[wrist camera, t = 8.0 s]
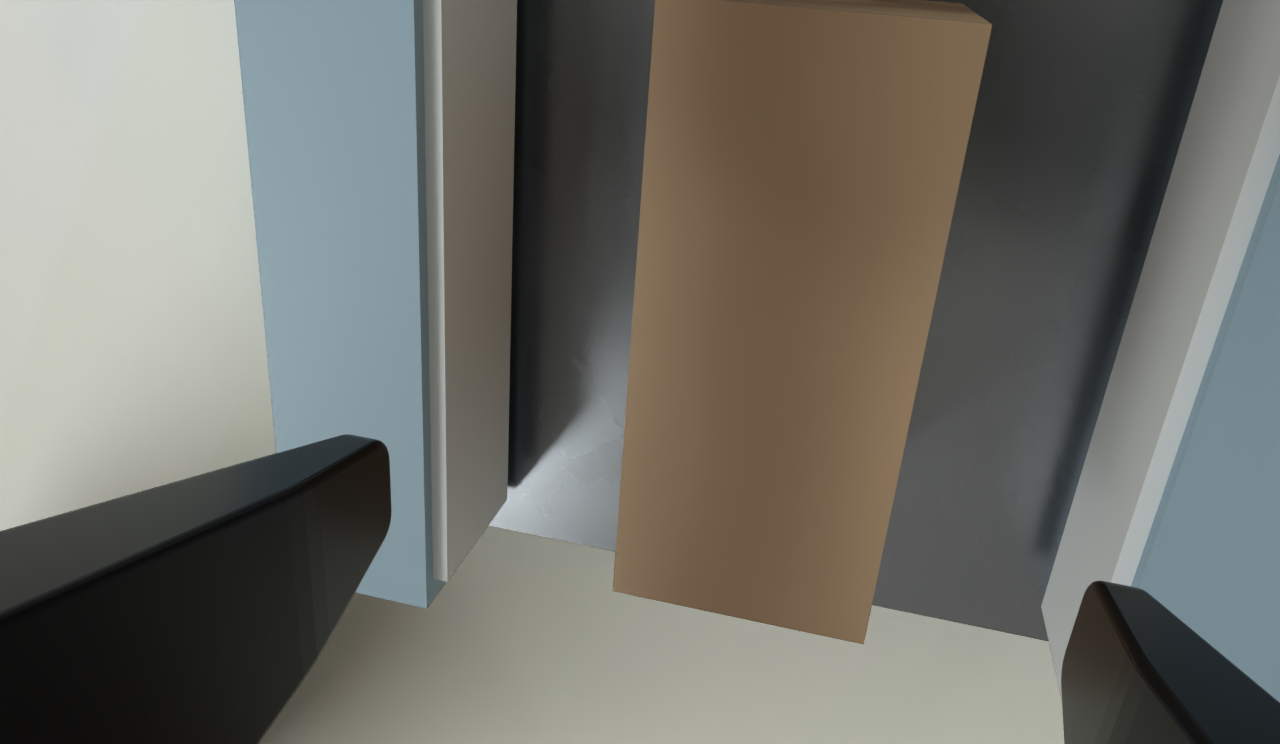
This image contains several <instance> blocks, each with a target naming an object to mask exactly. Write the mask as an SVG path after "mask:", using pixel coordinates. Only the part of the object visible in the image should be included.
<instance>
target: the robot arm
mask: <svg viewBox="0 0 1280 744" xmlns="http://www.w3.org/2000/svg"><path fill="white" fill-rule="evenodd" d="M391 513H392V508H391V483H390V458H389V452H388V449H387V447H386V446H385V444H384V443H383V442H382V441H380V440H376V439H371V438H366V437H361V436H356V435H351V434H344V435H339V436H336V437H332V438H329V439H325V440H322V441H318V442H315V443H311V444H308V445H304V446H300V447H297V448H293V449H290V450H286V451H283V452H279V453H276V454H272V455H269V456H265V457H261V458H258V459H254V460H251V461H247V462H244V463H240V464H237V465H233V466H230V467H226V468H223V469H219V470H215V471H212V472H208V473H205V474H201V475H198V476H194V477H191V478H187V479H184V480H180V481H177V482H173V483H169V484H166V485H162V486H159V487H155V488H152V489H148V490H145V491H141V492H138V493H134V494H131V495H127V496H123V497H120V498H116V499H113V500H109V501H106V502H102V503H99V504H95V505H92V506H88V507H85V508H81V509H77V510H74V511H70V512H67V513H63V514H60V515H56V516H53V517H49V518H46V519H42V520H39V521H35V522H31V523H28V524H24V525H21V526H17V527H14V528H10V529H7V530H3V531H0V744H258V743H259V742H260V741H261V739H262V738H263V736H264V735H265V734H266V732H267V731H268V729H269V728H270V726H271V725H272V724H273V722H274V721H275V719H276V718H277V717H278V715H279V714H280V712H281V711H282V710H283V708H284V707H285V705H286V704H287V702H288V701H289V700H290V698H291V697H292V695H293V694H294V693H295V691H296V690H297V688H298V687H299V686H300V684H301V683H302V681H303V680H304V678H305V677H306V675H307V674H308V672H309V671H310V670H311V668H312V667H313V665H314V664H315V662H316V661H317V659H318V657H319V656H320V654H321V652H322V651H323V649H324V647H325V646H326V644H327V642H328V641H329V639H330V637H331V635H332V634H333V632H334V630H335V628H336V626H337V625H338V623H339V621H340V619H341V617H342V616H343V614H344V612H345V610H346V608H347V606H348V605H349V603H350V601H351V599H352V597H353V596H354V594H355V592H356V590H357V588H358V587H359V585H360V583H361V581H362V579H363V578H364V576H365V574H366V572H367V570H368V569H369V567H370V565H371V563H372V561H373V559H374V558H375V556H376V554H377V552H378V550H379V549H380V547H381V545H382V543H383V541H384V540H385V537H386V535H387V533H388V530H389V527H390V522H391ZM1061 692H1062V709H1063V725H1064V742H1065V744H1280V702H1279V701H1277V700H1276V699H1275V698H1274V697H1273V696H1271V695H1270V694H1269V693H1268V692H1267V691H1265V690H1264V689H1263V688H1262V687H1261V686H1259V685H1258V684H1257V683H1256V682H1255V681H1253V680H1252V679H1251V678H1250V677H1249V676H1247V675H1246V674H1245V673H1244V672H1243V671H1241V670H1240V669H1239V668H1238V667H1237V666H1235V665H1234V664H1233V663H1232V662H1231V661H1229V660H1228V659H1227V658H1226V657H1225V656H1223V655H1222V654H1221V653H1220V652H1219V651H1217V650H1216V649H1215V648H1214V647H1213V646H1211V645H1210V644H1209V643H1208V642H1207V641H1205V640H1204V639H1203V638H1202V637H1201V636H1199V635H1198V634H1197V633H1196V632H1195V631H1193V630H1192V629H1191V628H1190V627H1188V626H1187V625H1186V624H1185V623H1184V622H1182V621H1181V620H1180V619H1179V618H1178V617H1176V616H1175V615H1174V614H1173V613H1172V612H1170V611H1169V610H1168V609H1167V608H1166V607H1164V606H1163V605H1162V604H1161V603H1160V602H1158V601H1157V600H1156V599H1155V598H1154V597H1152V596H1151V595H1150V594H1149V593H1148V592H1146V591H1145V590H1143V589H1140V588H1137V587H1132V586H1127V585H1122V584H1116V583H1111V582H1106V581H1094V582H1092V583H1091V584H1090V585H1089V586H1088V587H1087V589H1086V591H1085V593H1084V595H1083V598H1082V601H1081V604H1080V608H1079V611H1078V614H1077V617H1076V620H1075V623H1074V626H1073V629H1072V632H1071V636H1070V639H1069V642H1068V645H1067V648H1066V651H1065V654H1064V658H1063V664H1062V671H1061Z"/></svg>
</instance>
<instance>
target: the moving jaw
mask: <svg viewBox="0 0 1280 744" xmlns="http://www.w3.org/2000/svg"><path fill="white" fill-rule="evenodd" d="M234 3H235V13H236V24H237V35H238V46H239V56H240V67H241V78H242V89H243V99H244V110H245V121H246V132H247V142H248V153H249V164H250V175H251V185H252V196H253V207H254V218H255V229H256V239H257V250H258V261H259V272H260V282H261V293H262V304H263V315H264V325H265V336H266V347H267V358H268V368H269V379H270V390H271V401H272V411H273V422H274V433H275V444H276V453H279V452H283V451H286V450H290V449H293V448H297V447H300V446H304V445H308V444H311V443H315V442H318V441H322V440H325V439H329V438H332V437H336V436H339V435H344V434H351V435H356V436H361V437H366V438H371V439H376V440H380V441H382V442H383V443H384V444H385V446H386V447H387V449H388V452H389V458H390V483H391V508H392V513H391V522H390V527H389V530H388V533H387V535H386V537H385V540H384V541H383V543H382V545H381V547H380V549H379V550H378V552H377V554H376V556H375V558H374V559H373V561H372V563H371V565H370V567H369V569H368V570H367V572H366V574H365V576H364V578H363V579H362V581H361V583H360V585H359V587H358V588H357V590H356V592H355V593H360V594H364V595H368V596H373V597H377V598H382V599H386V600H390V601H395V602H399V603H404V604H408V605H412V606H417V607H421V608H426V609H427V608H428V606H429V605H430V604H431V602H432V601H433V600H434V598H435V597H436V595H437V594H438V593H439V591H440V590H441V589H442V587H443V586H444V584H445V583H446V582H448V580H449V579H450V578H451V576H452V575H453V573H454V572H455V571H456V569H457V568H458V567H459V565H460V564H461V562H462V561H463V560H464V558H465V557H466V556H467V554H468V553H469V551H470V550H471V549H472V547H473V546H474V545H475V543H476V542H477V540H478V539H479V538H480V536H481V535H482V534H483V532H484V531H485V529H486V528H487V527H488V525H489V524H490V523H491V521H492V520H493V518H494V517H495V516H496V514H497V513H498V512H499V510H500V509H501V507H502V506H503V505H504V503H505V502H506V501H507V492H508V441H509V390H510V339H511V287H512V236H513V185H514V134H515V83H516V32H517V0H234Z"/></svg>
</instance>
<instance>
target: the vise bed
mask: <svg viewBox="0 0 1280 744" xmlns="http://www.w3.org/2000/svg"><path fill="white" fill-rule="evenodd" d="M927 1H939V2H951V3H962V4H964V5H965V6H967V7H968V8H969V9H971V10H972V11H974V12H975V13H977V14H978V15H979V16H981V17H982V18H984V19H985V20H987V21H988V22H989V23H991V24H992V29H991V34H990V39H989V43H988V48H987V53H986V58H985V63H984V67H983V72H982V77H981V82H980V87H979V91H978V96H977V101H976V106H975V111H974V115H973V120H972V125H971V130H970V135H969V140H968V144H967V149H966V154H965V159H964V164H963V168H962V173H961V178H960V183H959V188H958V192H957V197H956V202H955V207H954V212H953V216H952V221H951V226H950V231H949V236H948V241H947V245H946V250H945V255H944V260H943V265H942V269H941V274H940V279H939V284H938V289H937V293H936V298H935V303H934V308H933V313H932V317H931V322H930V327H929V332H928V337H927V342H926V346H925V351H924V356H923V361H922V366H921V370H920V375H919V380H918V385H917V390H916V394H915V399H914V404H913V409H912V414H911V418H910V423H909V428H908V433H907V438H906V443H905V447H904V452H903V457H902V462H901V467H900V471H899V476H898V481H897V486H896V491H895V495H894V500H893V505H892V510H891V515H890V519H889V524H888V529H887V534H886V539H885V544H884V548H883V553H882V558H881V563H880V568H879V572H878V577H877V582H876V587H875V592H874V596H873V601H872V605H876V606H881V607H886V608H890V609H895V610H900V611H905V612H910V613H915V614H919V615H924V616H929V617H934V618H939V619H944V620H948V621H953V622H958V623H963V624H968V625H973V626H977V627H982V628H987V629H992V630H997V631H1001V632H1006V633H1011V634H1016V635H1021V636H1026V637H1030V638H1035V639H1040V640H1045V641H1049V640H1048V636H1047V631H1046V627H1045V622H1044V617H1043V613H1042V608H1041V605H1042V602H1043V599H1044V595H1045V592H1046V589H1047V585H1048V582H1049V579H1050V575H1051V572H1052V569H1053V565H1054V562H1055V559H1056V555H1057V552H1058V549H1059V545H1060V542H1061V539H1062V535H1063V532H1064V529H1065V525H1066V522H1067V519H1068V515H1069V512H1070V509H1071V505H1072V502H1073V499H1074V495H1075V492H1076V489H1077V485H1078V482H1079V479H1080V475H1081V472H1082V469H1083V465H1084V462H1085V459H1086V455H1087V452H1088V449H1089V446H1090V442H1091V439H1092V436H1093V432H1094V429H1095V426H1096V422H1097V419H1098V416H1099V412H1100V409H1101V406H1102V402H1103V399H1104V396H1105V392H1106V389H1107V386H1108V382H1109V379H1110V376H1111V372H1112V369H1113V366H1114V362H1115V359H1116V356H1117V352H1118V349H1119V346H1120V342H1121V339H1122V336H1123V332H1124V329H1125V326H1126V322H1127V319H1128V316H1129V312H1130V309H1131V306H1132V302H1133V299H1134V296H1135V292H1136V289H1137V286H1138V282H1139V279H1140V276H1141V272H1142V269H1143V266H1144V262H1145V259H1146V256H1147V252H1148V249H1149V246H1150V242H1151V239H1152V236H1153V232H1154V229H1155V226H1156V222H1157V219H1158V216H1159V212H1160V209H1161V206H1162V202H1163V199H1164V196H1165V193H1166V189H1167V186H1168V183H1169V179H1170V176H1171V173H1172V169H1173V166H1174V163H1175V159H1176V156H1177V153H1178V149H1179V146H1180V143H1181V139H1182V136H1183V133H1184V129H1185V126H1186V123H1187V119H1188V116H1189V113H1190V109H1191V106H1192V103H1193V99H1194V96H1195V93H1196V89H1197V86H1198V83H1199V79H1200V76H1201V73H1202V69H1203V66H1204V63H1205V59H1206V56H1207V53H1208V49H1209V46H1210V43H1211V39H1212V36H1213V33H1214V29H1215V26H1216V23H1217V19H1218V16H1219V13H1220V9H1221V6H1222V3H1223V0H927ZM654 11H655V0H517V32H516V83H515V134H514V185H513V236H512V287H511V339H510V390H509V441H508V492H507V501H506V502H505V503H504V505H503V506H502V507H501V509H500V510H499V512H498V513H497V514H496V516H495V517H494V518H493V520H492V521H491V523H490V524H489V526H494V527H499V528H504V529H509V530H513V531H518V532H523V533H528V534H533V535H538V536H542V537H547V538H552V539H557V540H562V541H567V542H571V543H576V544H581V545H586V546H591V547H596V548H600V549H605V550H610V551H615V552H616V539H617V525H618V511H619V497H620V483H621V469H622V456H623V442H624V428H625V414H626V400H627V386H628V372H629V358H630V345H631V331H632V317H633V303H634V289H635V275H636V261H637V247H638V234H639V220H640V206H641V192H642V178H643V164H644V150H645V136H646V122H647V109H648V95H649V81H650V67H651V53H652V39H653V25H654Z"/></svg>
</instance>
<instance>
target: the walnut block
mask: <svg viewBox="0 0 1280 744" xmlns="http://www.w3.org/2000/svg"><path fill="white" fill-rule="evenodd" d="M991 29H992V24H991V23H989V22H988V21H987V20H985V19H984V18H982V17H981V16H979V15H978V14H977V13H975V12H974V11H972V10H971V9H969V8H968V7H967V6H965V5H964V4H962V3H951V2H939V1H927V0H655V11H654V25H653V39H652V53H651V67H650V81H649V95H648V109H647V122H646V136H645V150H644V164H643V178H642V192H641V206H640V220H639V234H638V247H637V261H636V275H635V289H634V303H633V317H632V331H631V345H630V358H629V372H628V386H627V400H626V414H625V428H624V442H623V456H622V469H621V483H620V497H619V511H618V525H617V539H616V553H615V567H614V580H613V591H615V592H620V593H624V594H629V595H634V596H639V597H643V598H648V599H653V600H657V601H662V602H667V603H671V604H676V605H681V606H685V607H690V608H695V609H700V610H704V611H709V612H714V613H718V614H723V615H728V616H732V617H737V618H742V619H747V620H751V621H756V622H761V623H765V624H770V625H775V626H779V627H784V628H789V629H794V630H798V631H803V632H808V633H812V634H817V635H822V636H826V637H831V638H836V639H841V640H845V641H850V642H855V643H859V644H864V640H865V635H866V630H867V625H868V620H869V616H870V611H871V606H872V601H873V596H874V592H875V587H876V582H877V577H878V572H879V568H880V563H881V558H882V553H883V548H884V544H885V539H886V534H887V529H888V524H889V519H890V515H891V510H892V505H893V500H894V495H895V491H896V486H897V481H898V476H899V471H900V467H901V462H902V457H903V452H904V447H905V443H906V438H907V433H908V428H909V423H910V418H911V414H912V409H913V404H914V399H915V394H916V390H917V385H918V380H919V375H920V370H921V366H922V361H923V356H924V351H925V346H926V342H927V337H928V332H929V327H930V322H931V317H932V313H933V308H934V303H935V298H936V293H937V289H938V284H939V279H940V274H941V269H942V265H943V260H944V255H945V250H946V245H947V241H948V236H949V231H950V226H951V221H952V216H953V212H954V207H955V202H956V197H957V192H958V188H959V183H960V178H961V173H962V168H963V164H964V159H965V154H966V149H967V144H968V140H969V135H970V130H971V125H972V120H973V115H974V111H975V106H976V101H977V96H978V91H979V87H980V82H981V77H982V72H983V67H984V63H985V58H986V53H987V48H988V43H989V39H990V34H991Z"/></svg>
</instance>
